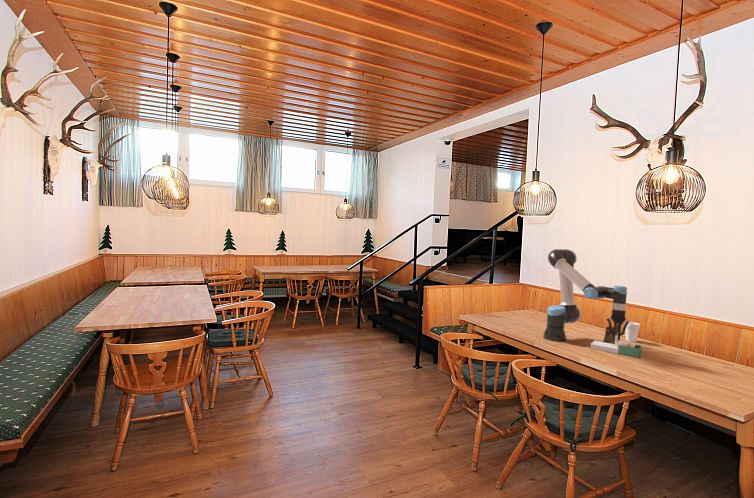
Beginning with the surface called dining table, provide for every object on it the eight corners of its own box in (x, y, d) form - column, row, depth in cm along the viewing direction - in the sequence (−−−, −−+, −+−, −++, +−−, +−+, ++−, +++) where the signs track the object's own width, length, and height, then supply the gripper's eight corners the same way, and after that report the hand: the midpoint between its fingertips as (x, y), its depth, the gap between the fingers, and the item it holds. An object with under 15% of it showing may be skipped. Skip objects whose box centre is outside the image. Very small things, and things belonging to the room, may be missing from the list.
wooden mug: (625, 344, 286) (627, 319, 285) (609, 345, 283) (611, 319, 282) (615, 341, 295) (617, 316, 294) (599, 341, 291) (601, 316, 290)
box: (617, 353, 262) (618, 345, 262) (620, 349, 272) (621, 341, 272) (639, 358, 255) (640, 349, 255) (642, 354, 264) (642, 345, 264)
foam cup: (625, 338, 305) (627, 321, 304) (640, 341, 298) (641, 323, 297) (622, 340, 298) (623, 322, 297) (636, 343, 291) (638, 325, 291)
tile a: (616, 347, 265) (616, 343, 265) (618, 346, 270) (618, 341, 270) (627, 349, 262) (627, 344, 262) (628, 347, 266) (628, 342, 266)
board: (590, 348, 272) (590, 343, 272) (594, 344, 282) (594, 340, 282) (617, 353, 262) (618, 349, 262) (620, 349, 272) (621, 345, 272)
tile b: (629, 344, 261) (634, 346, 259) (630, 342, 266) (635, 344, 264) (626, 352, 262) (631, 354, 260) (627, 350, 267) (632, 352, 265)
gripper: (606, 308, 268) (603, 343, 269) (629, 311, 260) (626, 348, 261) (608, 307, 274) (606, 341, 275) (631, 310, 266) (628, 345, 267)
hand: (616, 344), depth 268 cm, fingers closed
